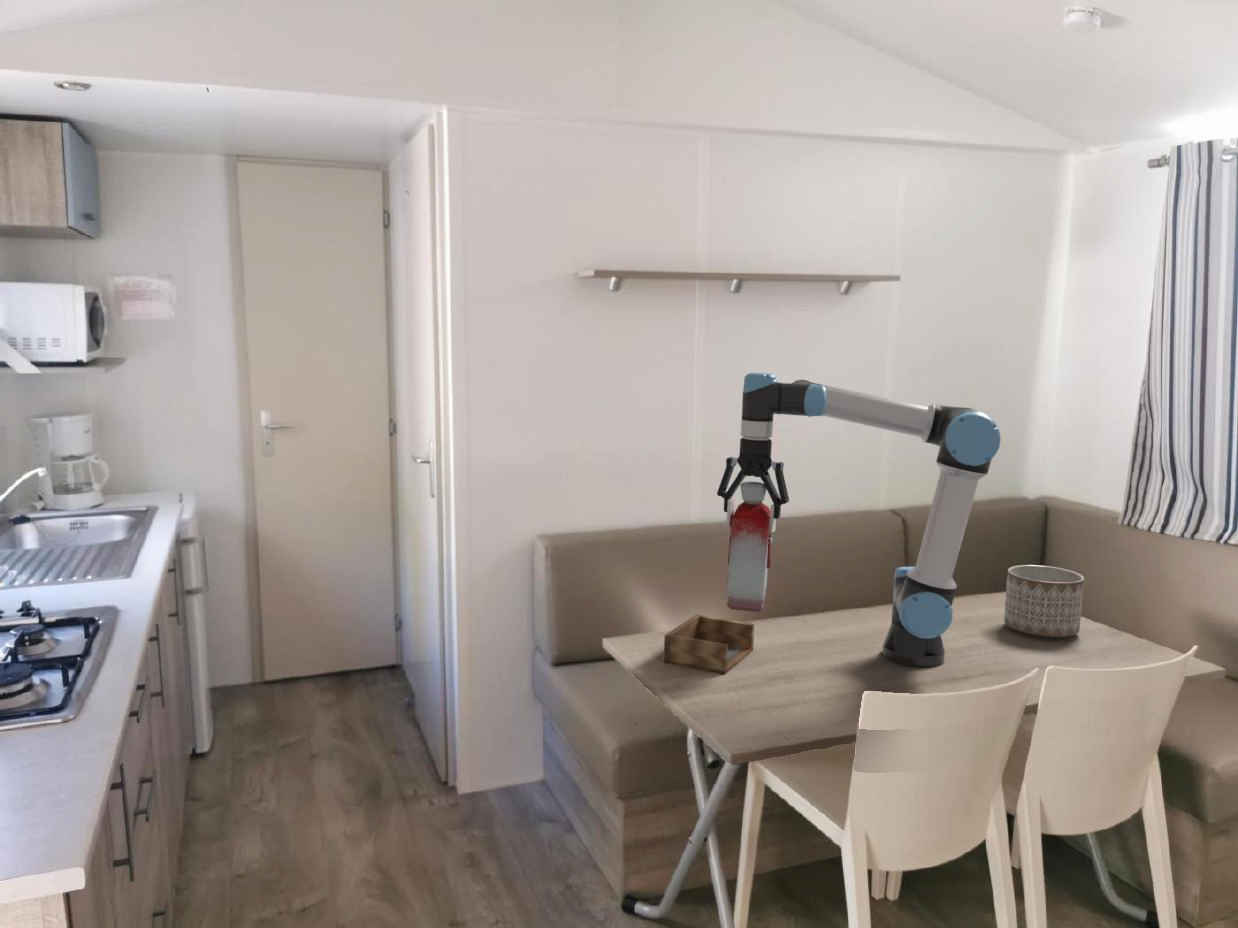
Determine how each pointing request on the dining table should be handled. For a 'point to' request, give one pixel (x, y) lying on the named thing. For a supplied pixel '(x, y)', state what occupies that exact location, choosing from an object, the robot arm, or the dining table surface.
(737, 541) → the bottle
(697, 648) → the wooden tray box
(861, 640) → the dining table surface
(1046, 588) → the planter
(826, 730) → the dining table surface
